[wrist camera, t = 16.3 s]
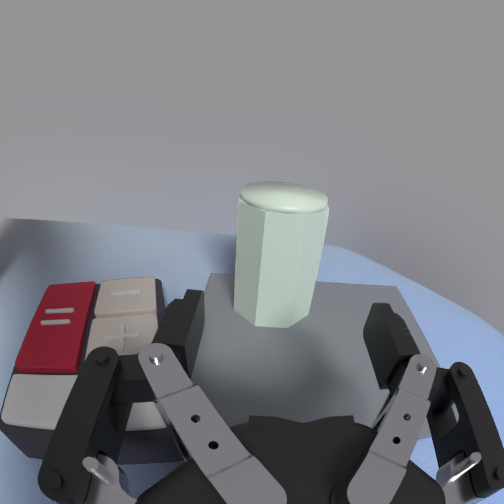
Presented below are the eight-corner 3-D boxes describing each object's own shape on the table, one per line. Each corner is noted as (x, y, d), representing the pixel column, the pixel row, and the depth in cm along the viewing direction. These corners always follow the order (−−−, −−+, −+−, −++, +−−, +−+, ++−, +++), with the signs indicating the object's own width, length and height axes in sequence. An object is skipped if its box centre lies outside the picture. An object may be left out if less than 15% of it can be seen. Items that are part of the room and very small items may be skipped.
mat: (164, 440, 13) (163, 437, 13) (211, 276, 29) (211, 273, 29) (462, 427, 13) (465, 424, 13) (394, 289, 29) (396, 286, 29)
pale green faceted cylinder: (231, 324, 23) (236, 202, 18) (238, 280, 28) (243, 178, 24) (310, 329, 22) (336, 211, 18) (303, 285, 28) (319, 186, 24)
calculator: (160, 269, 24) (181, 426, 11) (165, 310, 25) (191, 461, 13) (45, 279, 20) (-12, 420, 8) (57, 318, 22) (25, 458, 9)
